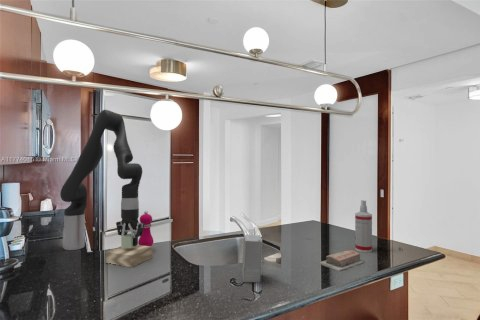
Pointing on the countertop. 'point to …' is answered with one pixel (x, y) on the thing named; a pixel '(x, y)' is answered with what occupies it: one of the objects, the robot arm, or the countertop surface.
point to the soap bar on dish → (342, 260)
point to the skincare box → (252, 258)
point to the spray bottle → (363, 229)
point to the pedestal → (129, 255)
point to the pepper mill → (146, 230)
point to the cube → (127, 241)
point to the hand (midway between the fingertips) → (129, 245)
